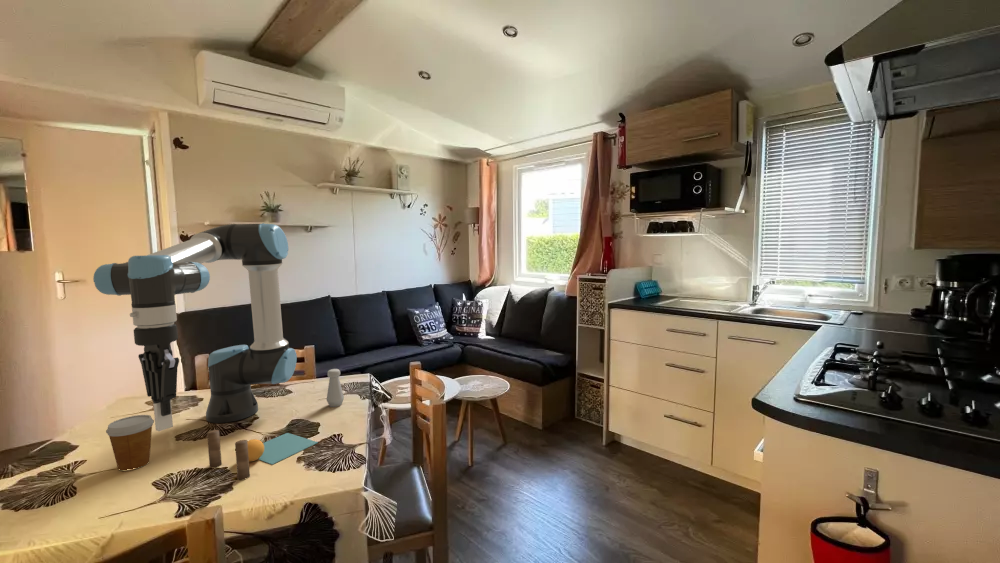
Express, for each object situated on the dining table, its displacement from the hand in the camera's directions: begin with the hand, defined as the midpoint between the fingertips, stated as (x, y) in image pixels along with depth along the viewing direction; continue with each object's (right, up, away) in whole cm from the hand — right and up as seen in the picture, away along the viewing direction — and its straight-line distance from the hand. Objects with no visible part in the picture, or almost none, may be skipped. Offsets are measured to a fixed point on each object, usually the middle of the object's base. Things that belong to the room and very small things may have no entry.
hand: (164, 428), depth 96 cm
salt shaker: (+16, -12, +57) cm, 61 cm away
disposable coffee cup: (-21, -16, +17) cm, 31 cm away
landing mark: (+13, -14, +25) cm, 32 cm away
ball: (+10, -12, +18) cm, 24 cm away
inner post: (+1, -15, +16) cm, 22 cm away
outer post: (+12, -15, +10) cm, 22 cm away
